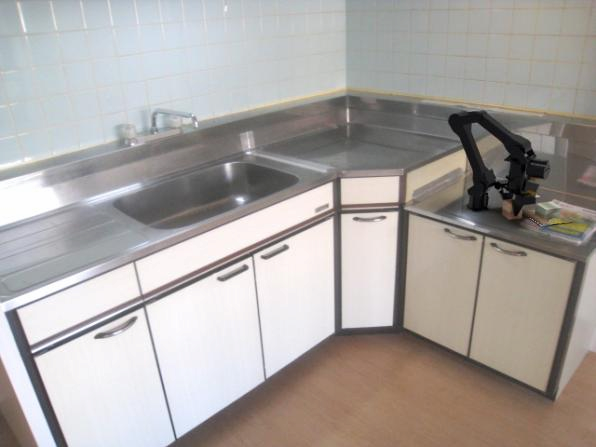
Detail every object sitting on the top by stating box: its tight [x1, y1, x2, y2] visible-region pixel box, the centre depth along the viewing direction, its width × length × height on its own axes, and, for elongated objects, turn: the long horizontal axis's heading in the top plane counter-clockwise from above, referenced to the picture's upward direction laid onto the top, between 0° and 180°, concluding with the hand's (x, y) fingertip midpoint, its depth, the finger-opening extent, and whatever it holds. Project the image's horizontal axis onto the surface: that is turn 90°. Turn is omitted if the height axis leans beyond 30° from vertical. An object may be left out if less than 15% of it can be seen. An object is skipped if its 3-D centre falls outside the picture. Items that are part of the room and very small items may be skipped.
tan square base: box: [522, 201, 573, 225], centre depth 183 cm, size 12×12×5 cm
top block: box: [501, 198, 524, 221], centre depth 186 cm, size 5×5×6 cm
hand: (511, 213), depth 187 cm, fingers closed on top block, 5 cm apart
